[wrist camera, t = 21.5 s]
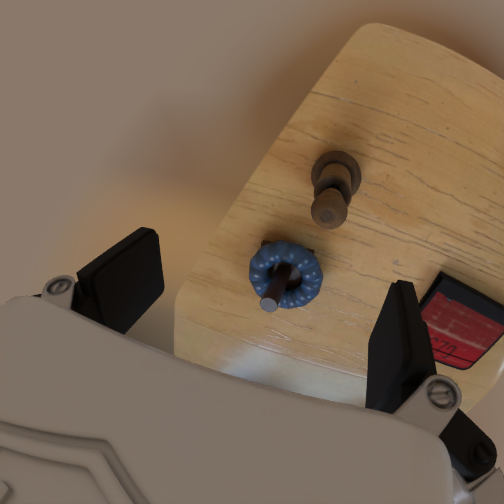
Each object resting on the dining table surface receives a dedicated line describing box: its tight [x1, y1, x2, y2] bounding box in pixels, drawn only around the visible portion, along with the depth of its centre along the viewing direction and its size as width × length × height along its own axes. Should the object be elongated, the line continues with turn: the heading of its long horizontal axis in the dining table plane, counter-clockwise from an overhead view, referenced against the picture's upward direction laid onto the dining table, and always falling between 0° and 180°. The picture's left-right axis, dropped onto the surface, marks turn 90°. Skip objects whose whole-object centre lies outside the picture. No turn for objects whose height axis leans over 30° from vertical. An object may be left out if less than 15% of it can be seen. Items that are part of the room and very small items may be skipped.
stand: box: [260, 240, 314, 312], centre depth 41 cm, size 8×8×10 cm
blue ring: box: [249, 240, 323, 309], centre depth 43 cm, size 11×11×3 cm
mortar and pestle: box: [311, 151, 361, 229], centre depth 29 cm, size 7×6×18 cm
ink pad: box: [419, 272, 504, 370], centre depth 39 cm, size 16×2×21 cm
